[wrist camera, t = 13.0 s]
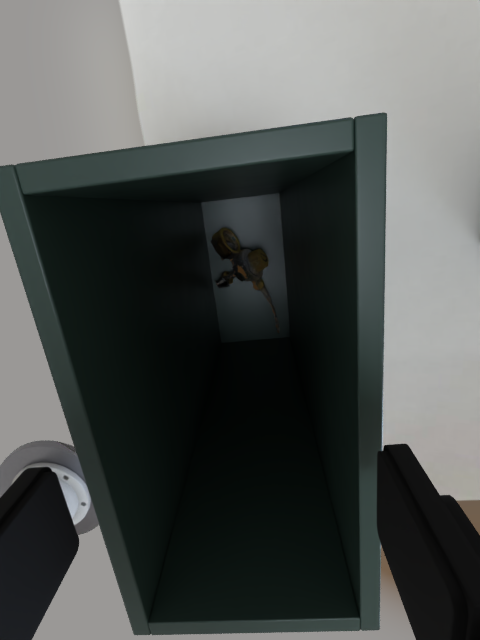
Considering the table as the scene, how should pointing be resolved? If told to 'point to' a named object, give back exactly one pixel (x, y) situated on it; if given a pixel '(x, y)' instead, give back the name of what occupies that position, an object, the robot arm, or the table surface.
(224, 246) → the regulator
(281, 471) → the wastebasket
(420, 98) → the table surface
